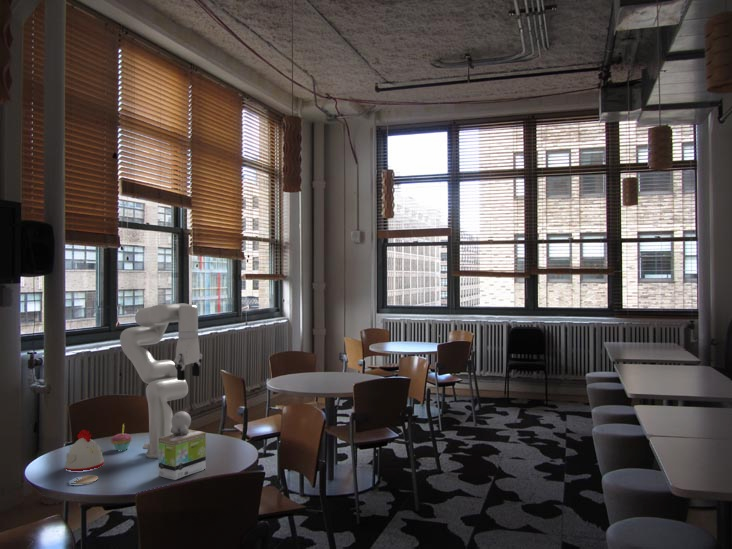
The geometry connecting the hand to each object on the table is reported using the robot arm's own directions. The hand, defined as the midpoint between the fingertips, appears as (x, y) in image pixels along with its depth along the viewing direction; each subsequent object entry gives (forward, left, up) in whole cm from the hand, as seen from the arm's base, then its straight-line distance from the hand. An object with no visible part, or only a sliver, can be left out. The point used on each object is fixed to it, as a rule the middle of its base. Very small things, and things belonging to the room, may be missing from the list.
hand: (188, 378), depth 238 cm
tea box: (+3, -10, -35) cm, 36 cm away
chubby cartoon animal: (+3, -9, -20) cm, 22 cm away
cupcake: (-42, +11, -35) cm, 55 cm away
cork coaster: (-28, -27, -34) cm, 52 cm away
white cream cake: (-40, -13, -35) cm, 54 cm away
